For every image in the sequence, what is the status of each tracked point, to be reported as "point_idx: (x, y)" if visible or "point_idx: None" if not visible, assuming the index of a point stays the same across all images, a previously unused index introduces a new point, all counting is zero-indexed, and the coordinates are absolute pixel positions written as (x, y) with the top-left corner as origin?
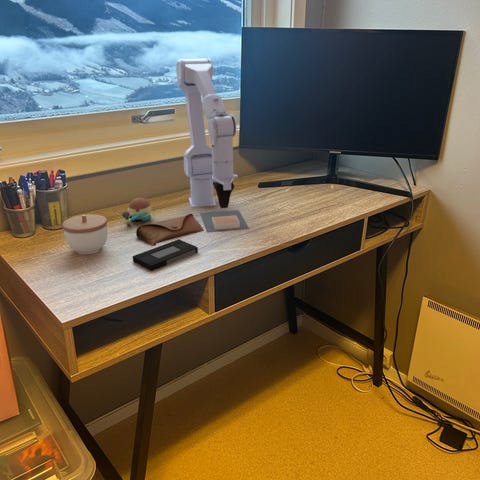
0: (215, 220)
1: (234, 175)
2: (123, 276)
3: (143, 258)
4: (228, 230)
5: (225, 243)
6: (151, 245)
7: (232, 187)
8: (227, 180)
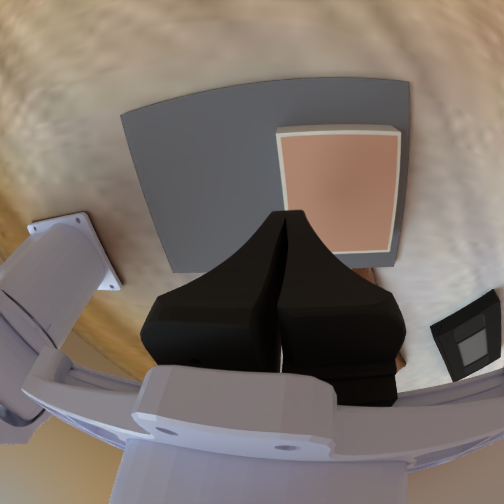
0: (341, 246)
1: (246, 452)
2: (482, 371)
3: (471, 370)
4: (406, 184)
5: (489, 214)
6: (404, 366)
7: (401, 316)
8: (474, 446)
